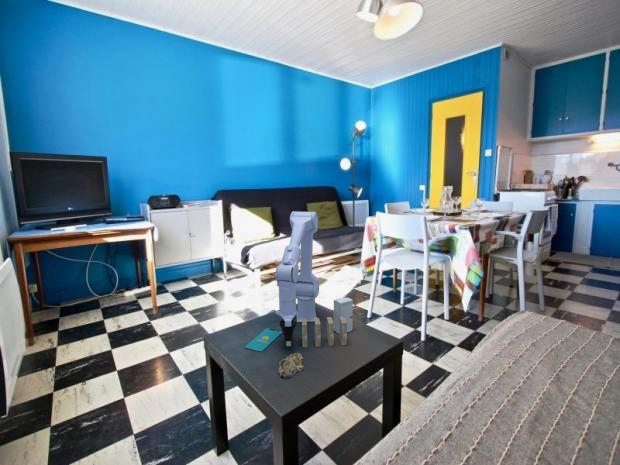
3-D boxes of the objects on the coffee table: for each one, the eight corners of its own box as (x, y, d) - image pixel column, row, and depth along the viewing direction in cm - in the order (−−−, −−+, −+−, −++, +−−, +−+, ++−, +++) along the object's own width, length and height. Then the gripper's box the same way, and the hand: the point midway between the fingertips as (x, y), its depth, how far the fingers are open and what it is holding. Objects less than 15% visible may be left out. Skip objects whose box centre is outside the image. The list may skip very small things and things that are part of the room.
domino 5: (342, 345, 105) (342, 323, 103) (339, 337, 109) (339, 316, 108) (346, 344, 105) (346, 322, 103) (343, 337, 110) (344, 316, 108)
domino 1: (286, 346, 103) (285, 323, 102) (286, 338, 108) (285, 317, 107) (291, 345, 103) (290, 323, 102) (290, 338, 108) (290, 317, 107)
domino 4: (329, 345, 104) (329, 323, 103) (327, 338, 109) (327, 317, 108) (333, 345, 104) (333, 323, 103) (331, 338, 109) (331, 317, 108)
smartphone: (243, 347, 103) (266, 327, 117) (243, 349, 103) (266, 329, 117) (261, 351, 100) (283, 331, 114) (261, 354, 100) (283, 333, 114)
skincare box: (340, 335, 111) (340, 303, 110) (332, 330, 115) (332, 299, 113) (353, 330, 115) (353, 299, 113) (345, 325, 119) (345, 296, 117)
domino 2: (302, 347, 104) (302, 325, 102) (301, 339, 108) (301, 318, 107) (307, 346, 104) (307, 324, 102) (306, 339, 109) (306, 318, 107)
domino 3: (315, 346, 104) (315, 324, 103) (314, 339, 109) (314, 317, 108) (320, 346, 104) (320, 324, 103) (318, 338, 109) (318, 317, 108)
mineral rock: (284, 350, 98) (306, 348, 95) (287, 362, 98) (310, 361, 95) (268, 370, 88) (292, 368, 85) (272, 384, 88) (296, 383, 85)
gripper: (276, 291, 110) (277, 327, 112) (274, 308, 96) (276, 348, 98) (295, 291, 110) (296, 326, 113) (297, 307, 96) (298, 347, 98)
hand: (288, 336), depth 105 cm, fingers closed on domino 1, 5 cm apart
